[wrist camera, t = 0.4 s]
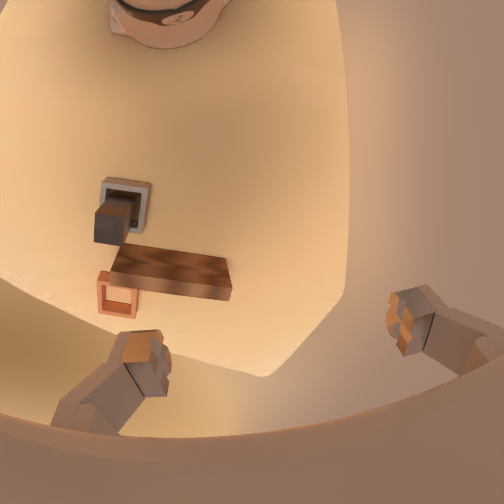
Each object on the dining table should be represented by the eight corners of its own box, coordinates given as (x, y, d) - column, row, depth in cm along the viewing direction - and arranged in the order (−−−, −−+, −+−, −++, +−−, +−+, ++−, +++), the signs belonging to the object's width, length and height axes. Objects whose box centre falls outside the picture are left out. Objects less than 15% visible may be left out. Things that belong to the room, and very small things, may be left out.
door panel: (120, 263, 48) (110, 293, 40) (121, 243, 46) (110, 271, 38) (220, 278, 53) (226, 309, 45) (225, 258, 51) (232, 288, 44)
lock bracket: (101, 303, 51) (98, 312, 48) (101, 271, 48) (97, 280, 45) (137, 308, 53) (135, 318, 50) (139, 277, 50) (137, 286, 47)
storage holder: (102, 220, 44) (98, 227, 41) (106, 177, 41) (101, 182, 38) (144, 226, 46) (141, 234, 43) (150, 183, 43) (148, 188, 40)
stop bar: (112, 212, 44) (93, 242, 34) (115, 188, 42) (95, 212, 32) (136, 215, 45) (122, 246, 35) (139, 191, 43) (125, 217, 34)
